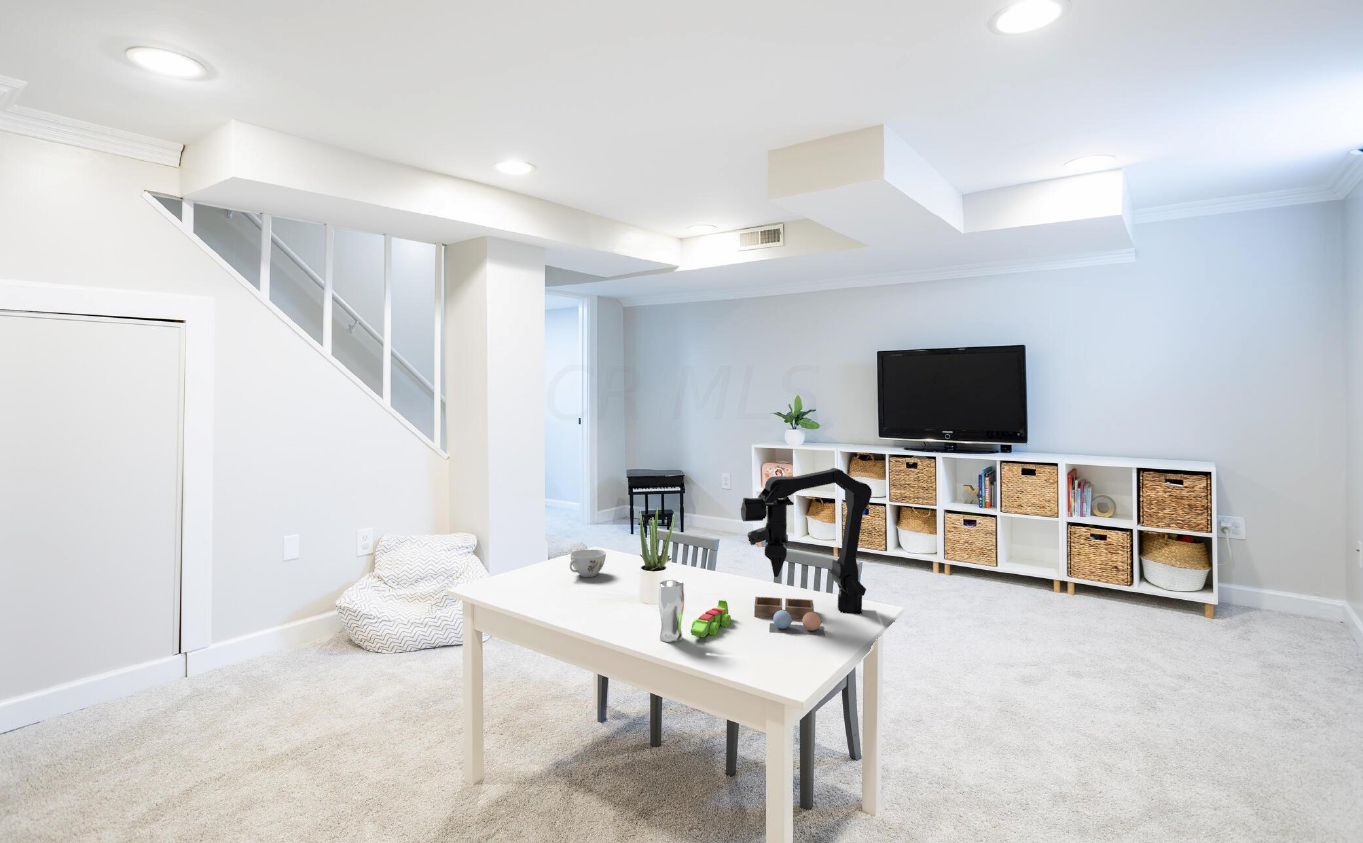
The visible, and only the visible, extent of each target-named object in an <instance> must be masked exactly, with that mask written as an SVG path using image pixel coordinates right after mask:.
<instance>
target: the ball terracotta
mask: <svg viewBox="0 0 1363 843" xmlns="http://www.w3.org/2000/svg"><path fill="white" fill-rule="evenodd" d="M801 621H802V625H804V627H805V628H806V629H807V630H810V631H815V630H817V629H818V628H819V627H820V626H821V622H822V620H821V617H820V615H819V614H818V613H816V612H815V611H814V612H808V613H806V614H805V615H804V617H803V620H801Z"/></svg>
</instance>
